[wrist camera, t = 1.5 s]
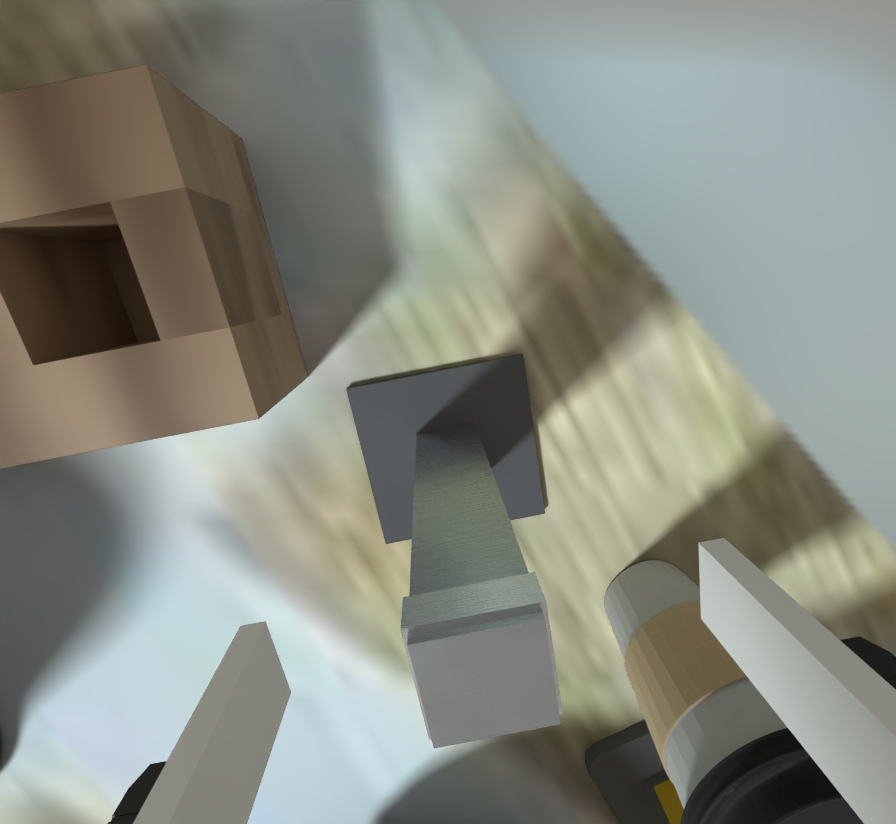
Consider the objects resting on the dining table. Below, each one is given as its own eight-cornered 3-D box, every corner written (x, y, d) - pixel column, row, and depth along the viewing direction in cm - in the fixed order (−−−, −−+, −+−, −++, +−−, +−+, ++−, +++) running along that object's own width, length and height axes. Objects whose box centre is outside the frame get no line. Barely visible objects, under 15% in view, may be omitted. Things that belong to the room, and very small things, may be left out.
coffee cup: (740, 562, 31) (1022, 814, 16) (670, 670, 33) (862, 975, 18) (617, 517, 29) (807, 748, 15) (552, 632, 31) (662, 932, 17)
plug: (426, 488, 28) (429, 753, 12) (413, 431, 26) (399, 640, 11) (486, 477, 28) (566, 727, 12) (476, 418, 26) (550, 612, 11)
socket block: (-44, 444, 26) (-242, 515, 18) (-168, 208, 22) (-479, 170, 15) (307, 377, 26) (258, 418, 18) (239, 129, 22) (141, 50, 15)
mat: (386, 540, 29) (385, 544, 28) (347, 387, 26) (346, 389, 26) (543, 510, 29) (545, 513, 28) (521, 353, 26) (523, 355, 26)
